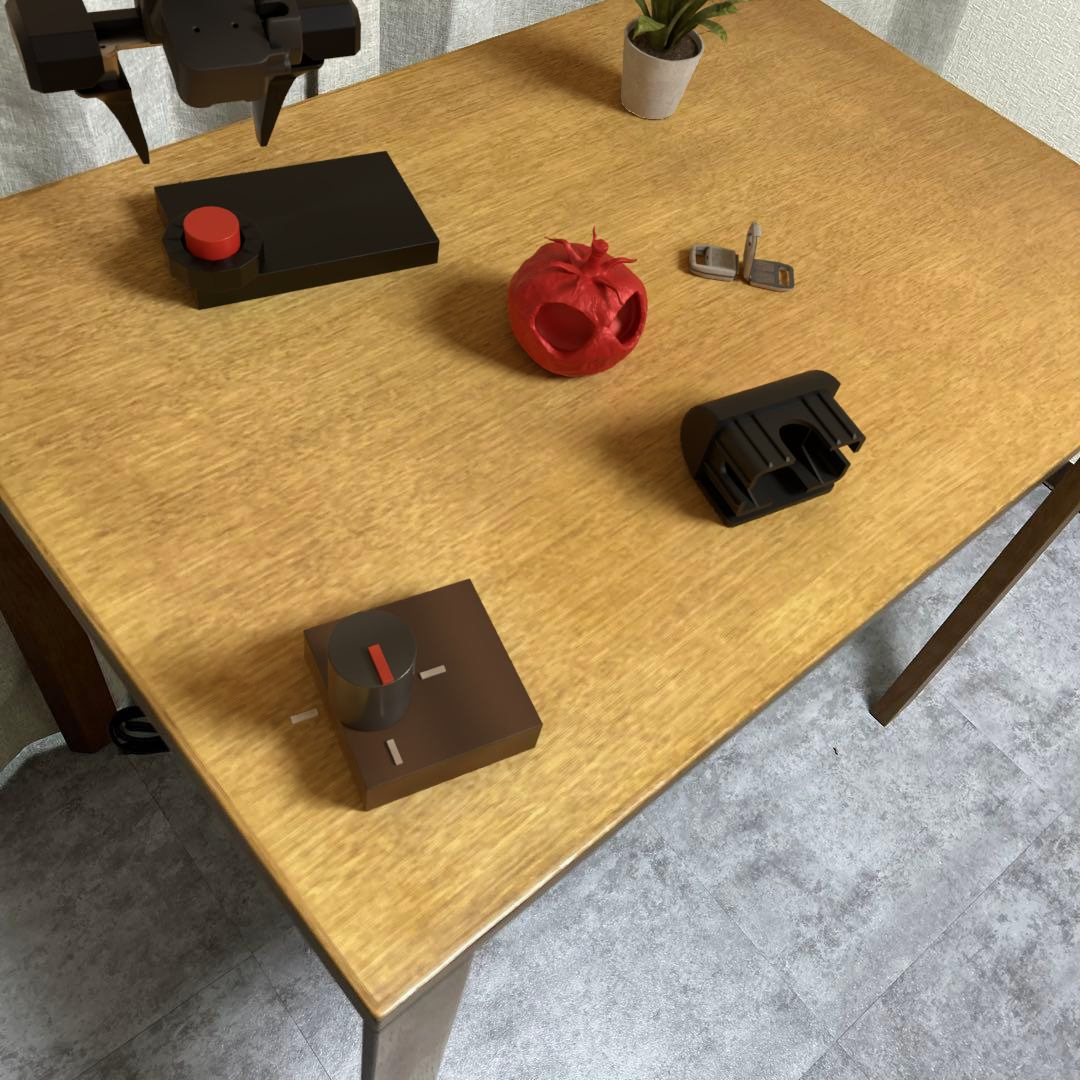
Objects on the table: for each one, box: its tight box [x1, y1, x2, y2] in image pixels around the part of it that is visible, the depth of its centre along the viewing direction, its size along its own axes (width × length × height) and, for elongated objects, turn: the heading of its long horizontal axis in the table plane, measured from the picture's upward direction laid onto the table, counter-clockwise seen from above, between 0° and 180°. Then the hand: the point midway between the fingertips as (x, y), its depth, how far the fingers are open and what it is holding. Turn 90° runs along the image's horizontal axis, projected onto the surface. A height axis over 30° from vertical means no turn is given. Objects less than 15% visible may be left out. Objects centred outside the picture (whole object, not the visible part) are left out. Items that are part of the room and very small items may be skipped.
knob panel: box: [289, 577, 544, 812], centre depth 61 cm, size 12×10×3 cm
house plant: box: [620, 0, 755, 119], centre depth 93 cm, size 14×14×16 cm
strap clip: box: [688, 221, 796, 292], centre depth 87 cm, size 8×3×4 cm, turn 85°
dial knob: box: [327, 609, 417, 731], centre depth 57 cm, size 4×4×5 cm
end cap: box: [679, 369, 867, 528], centre depth 74 cm, size 10×7×7 cm
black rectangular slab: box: [153, 150, 441, 311], centre depth 81 cm, size 19×12×4 cm, turn 115°
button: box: [184, 207, 241, 261], centre depth 75 cm, size 4×4×2 cm
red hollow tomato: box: [506, 225, 649, 378], centre depth 77 cm, size 10×10×9 cm
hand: (204, 151), depth 70 cm, fingers open, 7 cm apart
